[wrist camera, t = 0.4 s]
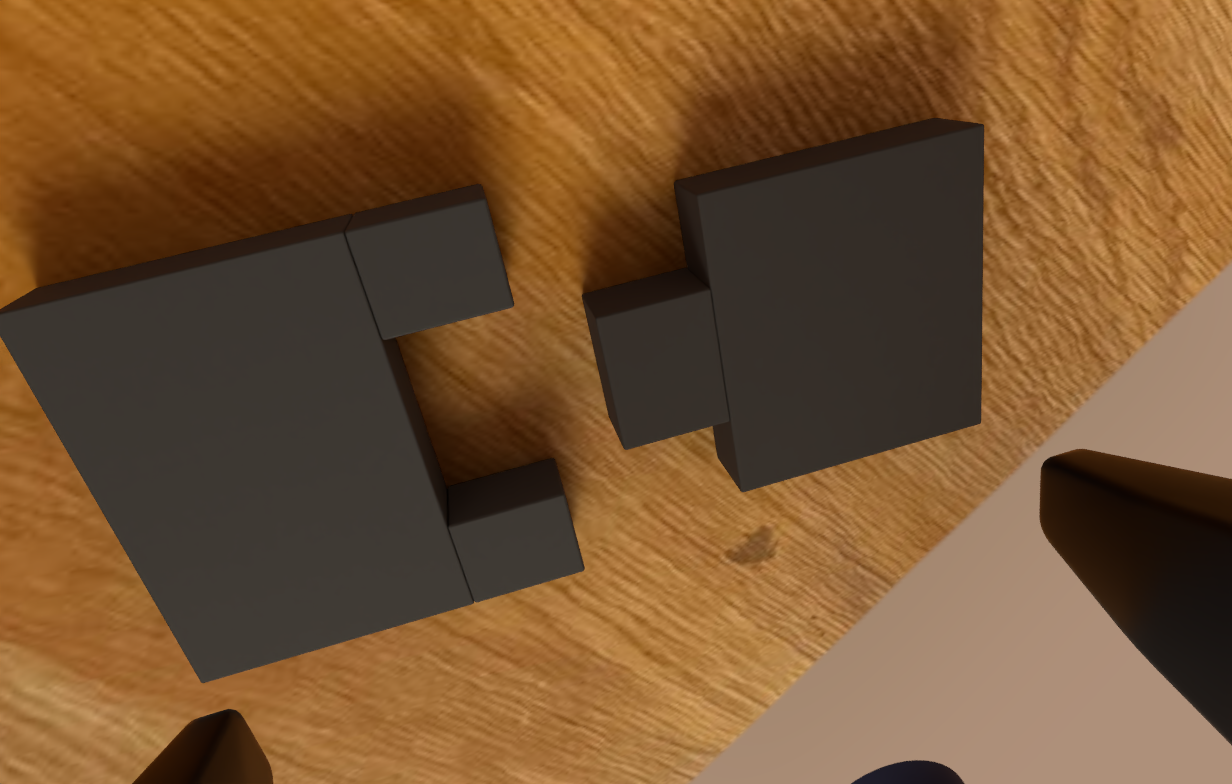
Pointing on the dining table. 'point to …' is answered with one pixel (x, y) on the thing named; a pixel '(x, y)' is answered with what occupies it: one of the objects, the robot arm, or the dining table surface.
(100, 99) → the dining table surface
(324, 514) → the dark grey notched block
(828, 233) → the dark grey tabbed block
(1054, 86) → the dining table surface
